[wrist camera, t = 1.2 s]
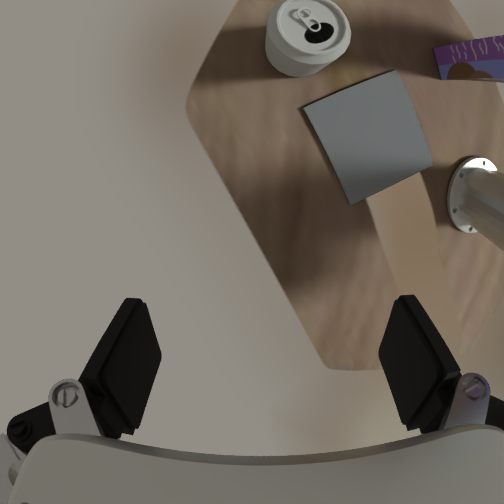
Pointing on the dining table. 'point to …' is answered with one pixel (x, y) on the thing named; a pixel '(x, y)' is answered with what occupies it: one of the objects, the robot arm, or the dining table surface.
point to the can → (305, 36)
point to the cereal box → (472, 60)
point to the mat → (370, 135)
